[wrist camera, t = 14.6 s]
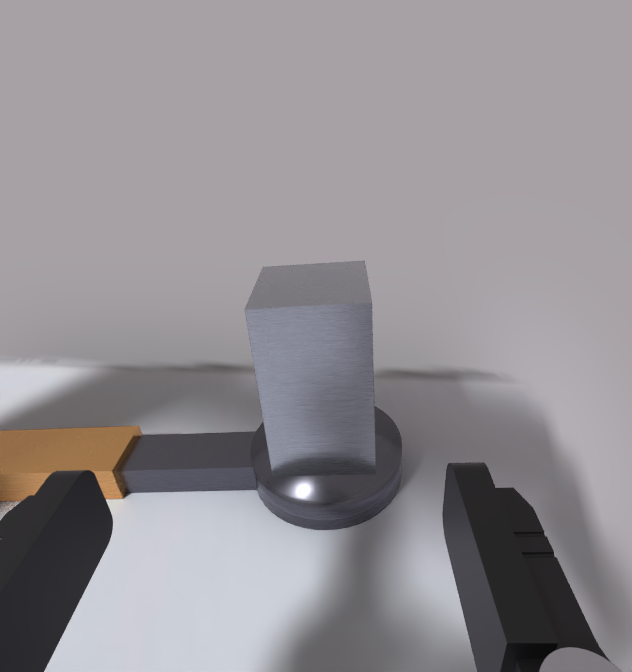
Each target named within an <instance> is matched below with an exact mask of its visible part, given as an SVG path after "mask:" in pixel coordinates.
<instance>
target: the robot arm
mask: <svg viewBox="0 0 632 672" xmlns="http://www.w3.org/2000/svg"><path fill="white" fill-rule="evenodd" d="M443 527H444V535H445V540H446V544H447V549H448V553H449V557H450V561H451V565H452V569H453V573H454V577H455V581H456V586H457V590H458V594H459V598H460V602H461V606H462V610H463V614H464V618H465V623H466V627H467V631H468V635H469V639H470V643H471V647H472V651H473V655H474V660H475V664H476V668H477V672H622V671H621V670H620V669H619V668H617V667H616V666H615V665H614V664H613V663H611V662H610V660H609V659H608V658H607V657H606V656H605V654H604V653H603V651H602V650H601V648H600V647H599V645H598V643H597V642H596V640H595V638H594V636H593V634H592V632H591V629H590V627H589V625H588V623H587V621H586V619H585V617H584V615H583V613H582V610H581V608H580V606H579V604H578V602H577V600H576V598H575V596H574V593H573V591H572V589H571V587H570V585H569V583H568V581H567V579H566V577H565V574H564V572H563V570H562V568H561V566H560V564H559V562H558V560H557V558H556V557H555V556H554V551H553V549H552V547H551V545H550V543H549V541H548V538H547V537H545V535H544V530H543V528H542V526H541V524H540V522H539V519H538V517H537V515H536V513H535V511H534V509H533V507H532V506H531V505H530V504H529V503H528V502H527V501H526V500H525V499H524V498H523V497H522V496H521V495H520V494H519V493H518V492H517V491H516V490H515V489H514V488H495V485H494V483H493V480H492V478H491V475H490V473H489V470H488V468H487V466H486V464H485V463H449V464H448V465H447V471H446V482H445V492H444V503H443ZM112 528H113V519H112V515H111V512H110V509H109V507H108V505H107V502H106V500H105V497H104V495H103V493H102V490H101V488H100V485H99V483H98V480H97V478H96V476H95V474H94V473H93V472H92V471H90V470H70V471H55V472H53V473H52V474H50V475H49V476H48V478H47V479H46V480H45V482H44V483H43V484H42V486H41V487H40V488H39V490H38V491H37V492H36V494H35V495H29V496H28V497H26V498H25V499H24V500H23V501H21V502H20V503H19V504H18V505H17V506H15V507H14V508H13V509H12V510H10V511H9V512H8V513H7V514H5V516H4V517H3V518H2V519H1V521H0V672H44V670H45V668H46V666H47V664H48V662H49V661H50V659H51V657H52V655H53V653H54V651H55V649H56V647H57V645H58V643H59V641H60V639H61V637H62V635H63V633H64V631H65V629H66V627H67V625H68V623H69V621H70V619H71V617H72V615H73V613H74V611H75V609H76V607H77V605H78V603H79V601H80V599H81V597H82V595H83V593H84V591H85V589H86V587H87V585H88V583H89V581H90V579H91V577H92V575H93V573H94V571H95V569H96V567H97V565H98V563H99V561H100V559H101V558H102V556H103V554H104V552H105V550H106V548H107V546H108V543H109V541H110V538H111V534H112Z"/></svg>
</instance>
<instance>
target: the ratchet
mask: <svg viewBox="0 0 632 672" xmlns="http://www.w3.org/2000/svg"><path fill="white" fill-rule="evenodd" d="M374 418H375V465H376V474H358V475H323V476H288V477H273V476H272V470H271V464H270V458H269V452H268V446H267V440H266V434H265V428H264V422H263V423H262V424H261V425H260V427H259V428H258V429H257V431H256V432H232V433H202V434H172V435H142V433H141V430H140V427H139V426H119V427H90V428H62V429H33V430H5V431H0V501H23V500H24V499H25V498H26V497H28V496H29V495H35V494H36V492H37V491H38V490H39V488H40V487H41V486H42V484H43V483H44V482H45V480H46V479H47V478H48V476H49V475H50V474H52V473H53V472H55V471H70V470H90V471H92V472H93V473H94V474H95V476H96V478H97V480H98V483H99V485H100V488H101V490H102V493H103V495H104V497H105V499H123V497H124V495H125V493H135V492H177V491H219V490H257V491H258V494H259V496H260V498H261V500H262V501H263V503H264V504H265V506H266V507H267V508H268V509H269V510H270V511H271V512H272V513H274V514H275V515H276V516H277V517H279V518H281V519H282V520H284V521H286V522H288V523H291V524H293V525H296V526H300V527H303V528H308V529H315V530H333V529H341V528H346V527H350V526H353V525H357V524H359V523H362V522H364V521H366V520H368V519H370V518H372V517H373V516H375V515H377V514H378V513H379V512H380V511H382V510H383V509H384V508H385V507H386V506H387V505H388V504H389V503H390V502H391V500H392V499H393V497H394V496H395V494H396V492H397V490H398V488H399V484H400V480H401V452H402V444H401V436H400V433H399V430H398V428H397V426H396V425H395V423H394V422H393V421H392V419H391V418H390V417H389V416H388V415H387V414H385V413H384V412H383V411H382V410H380V409H378V408H377V407H375V406H374Z"/></svg>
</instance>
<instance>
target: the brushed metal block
mask: <svg viewBox="0 0 632 672" xmlns="http://www.w3.org/2000/svg"><path fill="white" fill-rule="evenodd" d="M245 314H246V320H247V326H248V332H249V338H250V344H251V350H252V356H253V362H254V368H255V374H256V380H257V386H258V392H259V398H260V404H261V410H262V416H263V422H264V428H265V434H266V440H267V446H268V452H269V458H270V464H271V470H272V476H273V477H288V476H323V475H358V474H376V465H375V418H374V371H373V324H372V299H371V294H370V288H369V283H368V277H367V271H366V265H365V261H352V262H336V263H320V264H304V265H290V266H289V265H287V266H272V267H263V268H262V270H261V272H260V275H259V277H258V280H257V282H256V284H255V287H254V289H253V291H252V294H251V296H250V298H249V301H248V303H247V305H246V308H245Z"/></svg>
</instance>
